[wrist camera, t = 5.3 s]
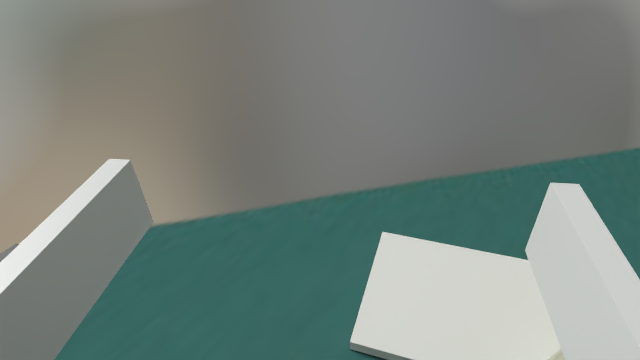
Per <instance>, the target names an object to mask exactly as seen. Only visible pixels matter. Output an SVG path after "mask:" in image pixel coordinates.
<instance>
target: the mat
mask: <svg viewBox="0 0 640 360" xmlns="http://www.w3.org/2000/svg"><path fill="white" fill-rule="evenodd" d="M350 349H352V350H355V351H359V352H362V353H366V354H370V355H373V356H377V357H380V358H384V359H387V360H548V359H549V358H550V357H551V356H552V355H554V354H555V353H556V352H557V351H558V350H560V349H561V347H560V344H559V341H558V339H557V336H556V333H555V331H554V328H553V325H552V322H551V320H550V317H549V314H548V311H547V309H546V306H545V303H544V301H543V298H542V295H541V292H540V290H539V287H538V284H537V281H536V279H535V276H534V273H533V271H532V268H531V265H530V262H529V260H524V259H519V258H514V257H509V256H503V255H498V254H493V253H488V252H483V251H478V250H473V249H468V248H463V247H457V246H452V245H447V244H442V243H437V242H432V241H427V240H422V239H417V238H411V237H406V236H401V235H396V234H391V233H386V232H382V236H381V239H380V243H379V246H378V249H377V253H376V256H375V259H374V263H373V266H372V270H371V273H370V276H369V280H368V283H367V286H366V290H365V293H364V297H363V300H362V303H361V307H360V310H359V313H358V317H357V320H356V324H355V327H354V330H353V334H352V337H351V340H350Z"/></svg>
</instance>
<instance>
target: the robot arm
mask: <svg viewBox="0 0 640 360" xmlns="http://www.w3.org/2000/svg"><path fill="white" fill-rule="evenodd" d="M152 223H153V219H152V216H151V214H150V211H149V208H148V206H147V203H146V200H145V198H144V195H143V192H142V190H141V187H140V184H139V182H138V179H137V176H136V174H135V171H134V168H133V166H132V163H131V160H121V159H109V160H108V161H107V162H106V163H105V164H104V165H103V166H101V167H100V168H99V169H98V170H97V171H96V172H95V173H94V174H93V175H92V176H91V177H90V178H89V179H88V180H87V181H86V182H85V183H84V184H82V186H80V187H79V188H78V189H77V190H76V191H75V192H74V193H73V194H72V195H71V196H70V197H69V198H68V199H67V200H66V201H65V202H64V203H63V204H62V205H60V206H59V207H58V208H57V209H56V210H55V211H54V212H53V213H52V214H51V215H50V216H49V217H48V218H47V219H46V220H45V221H43V223H41V224H40V225H39V226H38V227H37V228H36V229H35V230H34V231H33V232H32V233H31V234H30V235H29V236H28V237H27V238H26V239H24V240H23V241H22V242H21V243H20V244H15V245H14V246H12V247H10V248H9V249H7V250H5V251H4V252H2V253H1V254H0V360H54V359H55V358H56V356H57V355H58V354H59V352H60V351H61V349H62V348H63V347H64V345H65V344H66V342H67V341H68V340H69V338H70V337H71V336H72V334H73V333H74V331H75V330H76V329H77V327H78V326H79V324H80V323H81V322H82V320H83V319H84V318H85V316H86V315H87V313H88V312H89V311H90V309H91V308H92V306H93V305H94V304H95V302H96V301H97V300H98V298H99V297H100V295H101V294H102V293H103V291H104V290H105V288H106V287H107V286H108V284H109V283H110V281H111V280H112V279H113V277H114V276H115V275H116V273H117V272H118V270H119V269H120V268H121V266H122V265H123V263H124V262H125V261H126V259H127V258H128V257H129V255H130V254H131V252H132V251H133V250H134V248H135V247H136V245H137V244H138V243H139V241H140V240H141V238H142V237H143V236H144V234H145V233H146V232H147V230H148V229H149V227H150V226H151V225H152ZM525 251H526V254H527V257H528V260H529V262H530V265H531V268H532V271H533V273H534V276H535V279H536V281H537V284H538V287H539V290H540V292H541V295H542V298H543V301H544V303H545V306H546V309H547V311H548V314H549V317H550V320H551V322H552V325H553V328H554V331H555V333H556V336H557V339H558V341H559V344H560V347H561V350H562V352H563V355H564V358H565V360H640V280H639V278H638V276H637V275H636V273H635V272H634V270H633V269H632V267H631V265H630V264H629V262H628V261H627V259H626V258H625V256H624V254H623V253H622V251H621V250H620V248H619V246H618V245H617V243H616V242H615V240H614V239H613V237H612V235H611V234H610V232H609V231H608V229H607V227H606V226H605V224H604V223H603V221H602V220H601V218H600V216H599V215H598V213H597V212H596V210H595V209H594V207H593V205H592V204H591V202H590V201H589V199H588V197H587V196H586V194H585V193H584V191H583V190H582V188H581V186H580V185H579V184H565V183H550V185H549V188H548V191H547V193H546V196H545V199H544V201H543V204H542V207H541V209H540V212H539V215H538V217H537V220H536V223H535V225H534V228H533V231H532V233H531V236H530V239H529V241H528V244H527V247H526V249H525Z"/></svg>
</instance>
